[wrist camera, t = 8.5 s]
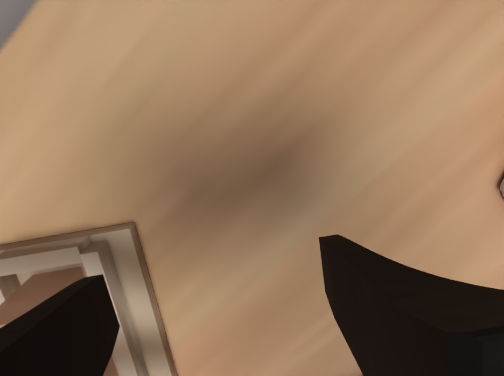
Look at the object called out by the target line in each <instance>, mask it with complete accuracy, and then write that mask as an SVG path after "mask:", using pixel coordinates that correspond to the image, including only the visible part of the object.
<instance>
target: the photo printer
mask: <svg viewBox="0 0 504 376" xmlns="http://www.w3.org/2000/svg"><path fill="white" fill-rule="evenodd" d="M500 191H502V195H503V197H504V179H503V181H502V183H501V185H500Z"/></svg>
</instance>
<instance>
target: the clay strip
mask: <svg viewBox="0 0 504 376" xmlns="http://www.w3.org/2000/svg"><path fill="white" fill-rule="evenodd" d="M82 278H84V274H83V271H82V268H81V267H75V268H69V269H63V270H57V271H51V272H45V273H40V274H34V275H32V276H31V277H30V278H29V279H28V280H27V281H25V282H24V283H23V284H22V285H21V286H20V287H19V288H18V289H17V290H16V291H15V292H14V293H12V294H11V295H10V296H9V297H8V298H7V299H6V300H5V301H4V302H3V303H2V304H1V305H0V328H1V327H3V326H5V325H6V324H8V323H10V322H11V321H13V320H14V319H16V318H18V317H19V316H21V315H23V314H24V313H26V312H28V311H29V310H31V309H32V308H34V307H35V306H37V305H39V304H40V303H42V302H43V301H45V300H46V299H48V298H50V297H51V296H53V295H54V294H56V293H57V292H59V291H61V290H62V289H64V288H66V287H67V286H69V285H71V284H72V283H74V282H76V281H78V280H80V279H82ZM103 376H118V373H117V370H116V367H115V364H114V361H113V358H112V356H111V358H110V361H109V363H108V365H107V368H106V370H105V372H104V375H103Z"/></svg>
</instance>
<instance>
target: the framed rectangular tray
mask: <svg viewBox="0 0 504 376" xmlns="http://www.w3.org/2000/svg"><path fill="white" fill-rule="evenodd" d="M75 267H81V268H82V271H83V274H84V277H89V276H95V275H101V274H103V276H104V279H105V282H106V285H107V288H108V291H109V294H110V297H111V300H112V303H113V307H114V310H115V313H116V316H117V319H118V322H119V325H120V328H119V332H118V335H117V339H116V343H115V346H114V350H113V353H112V358H113V361H114V364H115V367H116V370H117V373H118V376H177V373H176V369H175V366H174V362H173V359H172V355H171V352H170V348H169V344H168V341H167V337H166V334H165V330H164V327H163V323H162V320H161V316H160V313H159V309H158V305H157V302H156V298H155V295H154V291H153V288H152V284H151V281H150V277H149V273H148V270H147V266H146V263H145V259H144V256H143V252H142V249H141V245H140V241H139V238H138V234H137V231H136V227H135V224H134V222H133V223H127V224H121V225H115V226H109V227H103V228H98V229H92V230H86V231H80V232H74V233H68V234H62V235H56V236H50V237H45V238H39V239H33V240H27V241H21V242H15V243H9V244H3V245H0V305H1V304H2V303H3V302H4V301H5V300H6V299H7V298H8V297H9V296H10V295H11V294H12V293H14V292H15V291H16V290H17V289H18V288H19V287H20V286H21V285H22V284H23V283H24V282H25V281H27V280H28V279H29V278H30V277H31V276H32V275H34V274H40V273H45V272H51V271H57V270H63V269H69V268H75Z"/></svg>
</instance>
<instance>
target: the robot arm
mask: <svg viewBox="0 0 504 376" xmlns="http://www.w3.org/2000/svg"><path fill="white" fill-rule="evenodd" d="M319 242H320V250H321V259H322V268H323V276H324V285H325V292H326V295H327V298H328V301H329V304H330V307H331V309H332V312H333V315H334V318H335V320H336V322H337V324H338V326H339V328H340V330H341V332H342V334H343V336H344V338H345V340H346V342H347V344H348V346H349V348H350V350H351V352H352V354H353V356H354V358H355V360H356V362H357V364H358V366H359V368H360V370H361V371H362V373H363V375H364V376H504V290H501V289H494V288H488V287H483V286H477V285H473V284H468V283H464V282H459V281H455V280H450V279H447V278H443V277H439V276H436V275H432V274H429V273H426V272H423V271H420V270H416V269H414V268H411V267H408V266H405V265H403V264H400V263H398V262H395V261H393V260H390V259H388V258H386V257H384V256H381V255H379V254H377V253H375V252H373V251H371V250H369V249H367V248H364V247H362V246H360V245H359V244H357V243H355V242H353V241H351V240H349V239H347V238H345V237H343V236H340V235H338V234H337V235H331V236H325V237H319ZM119 328H120V325H119V322H118V319H117V316H116V313H115V310H114V307H113V303H112V300H111V297H110V294H109V291H108V288H107V285H106V282H105V279H104V276H103V274H101V275H95V276H89V277H84V278H82V279H80V280H78V281H76V282H74V283H72V284H71V285H69V286H67V287H66V288H64V289H62V290H61V291H59V292H57V293H56V294H54V295H53V296H51V297H50V298H48V299H46V300H45V301H43V302H42V303H40V304H39V305H37V306H35V307H34V308H32V309H31V310H29V311H28V312H26V313H24V314H23V315H21V316H19V317H18V318H16V319H14V320H13V321H11V322H10V323H8V324H6V325H5V326H3V327H1V328H0V376H103V375H104V372H105V370H106V368H107V365H108V363H109V361H110V358H111V356H112V353H113V350H114V346H115V343H116V339H117V335H118V332H119Z"/></svg>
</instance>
